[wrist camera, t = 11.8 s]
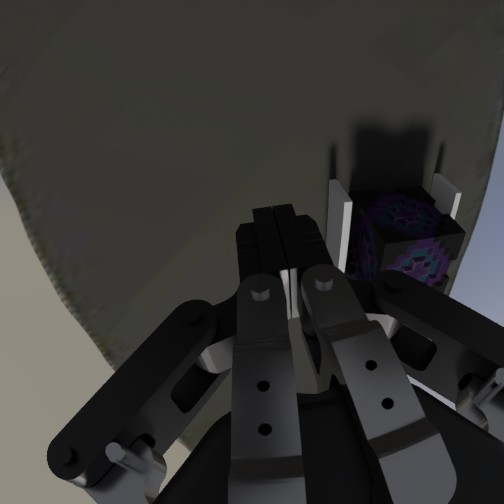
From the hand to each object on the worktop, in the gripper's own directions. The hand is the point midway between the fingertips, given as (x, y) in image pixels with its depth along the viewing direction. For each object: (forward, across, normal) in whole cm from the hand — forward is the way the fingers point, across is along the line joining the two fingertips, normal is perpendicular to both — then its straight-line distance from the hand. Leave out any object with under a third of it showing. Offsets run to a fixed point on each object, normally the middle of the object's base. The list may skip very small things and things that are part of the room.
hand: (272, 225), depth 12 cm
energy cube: (+26, -19, +21) cm, 39 cm away
